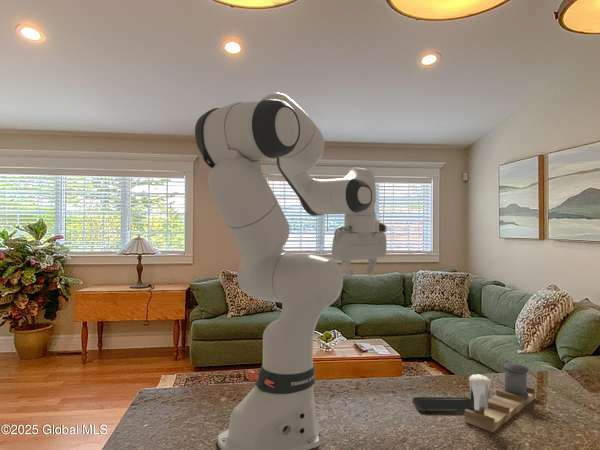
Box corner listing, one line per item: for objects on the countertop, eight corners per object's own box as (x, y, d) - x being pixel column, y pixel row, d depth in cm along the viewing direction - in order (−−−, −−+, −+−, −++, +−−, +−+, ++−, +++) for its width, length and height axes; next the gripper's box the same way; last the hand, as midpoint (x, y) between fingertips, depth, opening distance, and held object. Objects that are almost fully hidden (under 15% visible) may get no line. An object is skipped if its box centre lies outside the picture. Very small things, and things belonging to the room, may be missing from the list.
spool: (523, 400, 103) (523, 372, 103) (499, 393, 107) (499, 366, 107) (531, 394, 107) (531, 367, 107) (508, 387, 111) (508, 361, 111)
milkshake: (497, 420, 92) (497, 376, 92) (472, 418, 93) (472, 374, 93) (490, 411, 97) (490, 368, 97) (466, 409, 97) (466, 367, 97)
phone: (411, 397, 106) (469, 397, 106) (411, 401, 106) (469, 401, 106) (420, 410, 99) (482, 411, 98) (420, 415, 99) (482, 415, 98)
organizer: (492, 432, 90) (493, 419, 90) (464, 421, 95) (464, 410, 95) (534, 398, 107) (534, 388, 107) (509, 391, 112) (509, 381, 112)
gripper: (343, 226, 107) (343, 279, 107) (390, 226, 121) (390, 273, 121) (326, 226, 112) (326, 277, 112) (373, 226, 126) (372, 271, 126)
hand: (359, 275), depth 116 cm, fingers open, 8 cm apart
